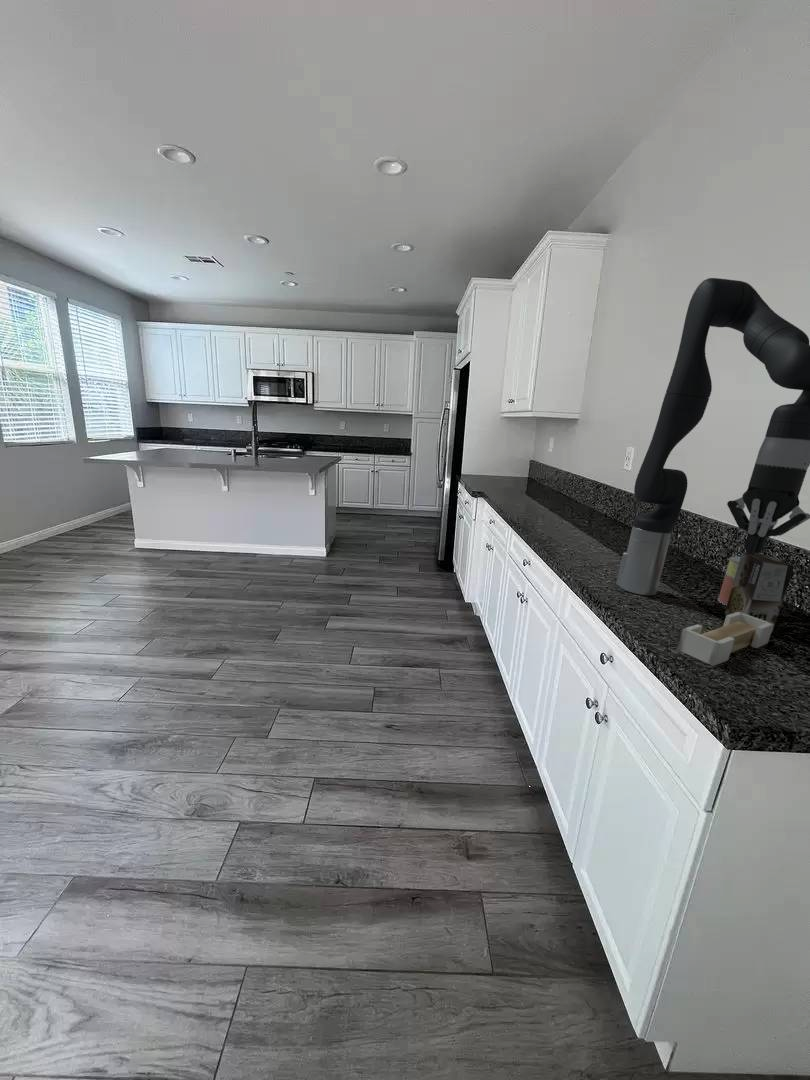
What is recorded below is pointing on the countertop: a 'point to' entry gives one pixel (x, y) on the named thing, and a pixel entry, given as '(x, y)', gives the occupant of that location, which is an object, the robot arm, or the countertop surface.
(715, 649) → the end cap
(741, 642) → the oak bar
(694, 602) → the countertop surface
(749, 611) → the coffee box
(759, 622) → the end cap
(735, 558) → the canned food
